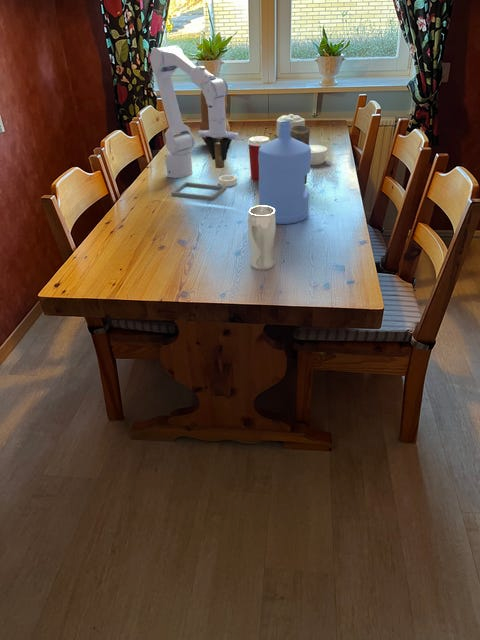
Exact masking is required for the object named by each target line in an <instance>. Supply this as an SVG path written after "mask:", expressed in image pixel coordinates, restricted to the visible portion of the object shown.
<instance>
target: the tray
mask: <svg viewBox="0 0 480 640" xmlns="http://www.w3.org/2000/svg"><path fill="white" fill-rule="evenodd" d="M186 187H194V188H204V189H211V190H218V191H216V192H215V193H214V194H213V195H212V196H211V195H203V194H195V193H188V192H187V193H186V192H181V191H182V190H184V189H185V188H186ZM226 190H227V186H221V185H215V184H214V185H213V184H206V183H197V182H188V181H186V182H184V183H183V184H181V185H180V186H178V187H177V188H176V189H174V190H172V191H171V196H174V197H183V198H190V199H191V198H192V199H198V200H199V199H200V200H206V201H207V200H208V201H214V200H216V199H217V198H218V197H219V196H221V195H222V194H223V193H224V192H225V191H226Z"/></svg>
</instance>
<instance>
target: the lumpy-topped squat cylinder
mask: <svg viewBox="0 0 480 640" xmlns="http://www.w3.org/2000/svg"><path fill="white" fill-rule="evenodd" d="M283 121H288V122H291V124H290V128H291V127H293V126H300V125H301V126H306V120H305V118H303V117H301V116H300V115H295V114H292V113H289V114H287V115H286V114H284V115H281V116H280V117H278V118H277V119H276V138H278V137H279V136H280V122H283Z"/></svg>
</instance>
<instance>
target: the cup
mask: <svg viewBox="0 0 480 640" xmlns="http://www.w3.org/2000/svg"><path fill="white" fill-rule="evenodd" d="M218 184H219V185H218V186H225V187H233V186H235V185H237V184H238V179H237V176H236V175H233V174H225V175H224V174H223V175H220V176H219V177H218Z"/></svg>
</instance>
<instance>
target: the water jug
mask: <svg viewBox="0 0 480 640" xmlns="http://www.w3.org/2000/svg"><path fill="white" fill-rule="evenodd" d="M290 124H291V122H288V121H283V122H280V136H279V137H276V138H275V139H273V140H270V142H268V143H266V144H264V145H262V146H261V147H260V148H259V155H258V163H259V181H258V193H259V194H258V196H259V197H258V201H259V202H258V203H259V205H258V206H270V207H272V208H274V209H275V217H276V225H290V224H296V223H299V222H301V221H304V220H305V219H306V218H307V217H308V215H309V209H310V206H309V204H310V203H309V201H310V199H309V198H310V193H309V191H308V189H306V187H305V185H306V184H305V176H306V175H307V176H308V174H309V173H310V172H311V165H310V163H311V148H310V146H309V145H310V144H309V145H307V144H305V143H303V142H301V141H298V140H296V139H294V138H292V137H291V136H290V131H291V128H290Z"/></svg>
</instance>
